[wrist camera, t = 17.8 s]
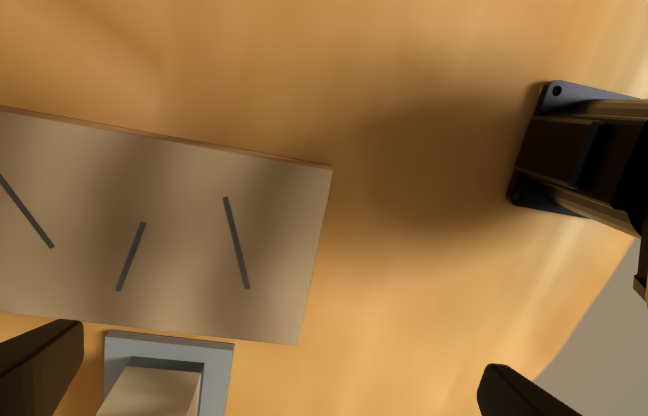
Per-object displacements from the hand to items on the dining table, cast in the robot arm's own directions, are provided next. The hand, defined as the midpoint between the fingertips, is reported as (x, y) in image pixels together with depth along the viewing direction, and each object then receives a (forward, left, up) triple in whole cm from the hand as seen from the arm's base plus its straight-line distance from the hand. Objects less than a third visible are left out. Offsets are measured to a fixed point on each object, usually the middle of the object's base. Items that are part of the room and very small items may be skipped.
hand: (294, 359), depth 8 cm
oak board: (+8, +3, -12) cm, 14 cm away
